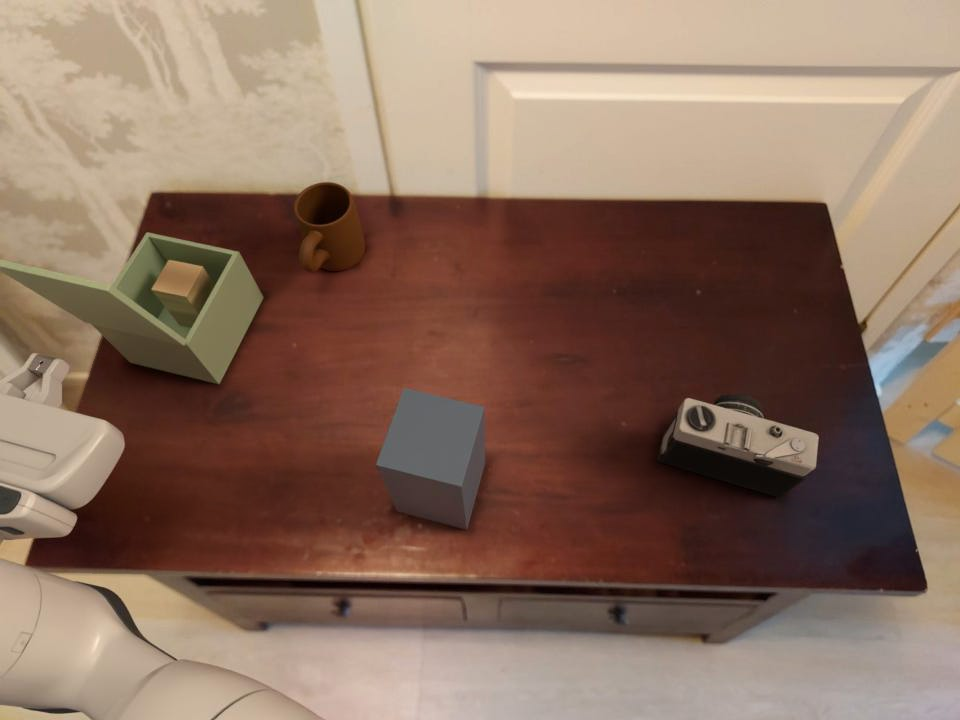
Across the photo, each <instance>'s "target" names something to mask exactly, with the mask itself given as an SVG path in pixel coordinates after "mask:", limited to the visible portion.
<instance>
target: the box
mask: <svg viewBox="0 0 960 720" xmlns="http://www.w3.org/2000/svg"><path fill="white" fill-rule="evenodd" d="M168 260H173V261H178V262H183V263H188V264H193V265H198V266H203V267H204V269H205V271H206V272H207V274H208V275H209V277H210V278H211V280H212V282H213V283H214V285H215V287H214V289H213V290H212V292H211V294H210V296H209V298H208V299H207V301H206V303H205V305H204V306H203V308H202V310H201V312H200V314H199V315H198V317H197V319H196V321H195V323H194V324H193V326H192V328H189V327H185V326H180V325H179V324H178V323H177V321H176V320H175V319H174V318H173V316H172V315H171V314H170V313H169V311H168V310H167V309H166V308H165V306H164V305H163V304H162V302H161V301H160V300H159V299H158V297H157V296H156V295H155V294H154V292H153V291H152V290H151V289H152V287H153V285H154V284H155V282H156V280H157V279H158V277H159V275H160V274H161V272H162V270H163V269H164V267H165V265H166V263H167V262H168ZM111 285H112V286H113V287H114V288H116V289H117V290H119V291H120V292H121V293H123V294H124V295H125V296H127V297H128V298H129V299H131V300H132V301H134V302H135V303H136V304H138V305H139V306H140V307H142V308H143V309H144V310H146V311H147V312H149V313H150V314H151V315H153V316H154V317H155V318H157V319H158V320H159V321H161V322H162V323H164V324H165V325H166V326H168V327H169V328H170V329H172V330H173V331H174V332H176V333H177V334H179V335H180V336H181V337H183V338H184V339H185V340H186V343H185V345H184V346H182V345H178V344H174V343H169V342H165V341H161V340H157V339H153V338H148V337H144V336H140V335H136V334H132V333H127V332H123V331H119V330H115V329H111V328H106V327H102V326H98V325H94V324H90V325H91V326H92V327H93V328H94V329H95V330H96V331H98V333H99V334H100V335H101V336H102V337H103V338H104V339H105V340H106V341H107V342H108V343H110V344H111V345H112V346H113V347H114V348H115V350H117V352H119V353H120V355H122V356H123V358H125V360H126V361H128V362H129V363H130V364H134V365H138V366H142V367H146V368H150V369H154V370H159V371H162V372H167V373H171V374H175V375H179V376H183V377H187V378H191V379H195V380H200V381H203V382H207V383H212V384H216V385H220V384H221V382H222V381H223V378H224V376H225V374H226V372H227V371H228V368H229V367H230V364H231V362H232V361H233V359H234V357H235V355H236V353H237V351H238V349H239V347H240V345H241V343H242V340H243V339H244V337H245V335H246V333H247V331H248V329H249V327H250V325H251V323H252V321H253V319H254V317H255V316H256V314H257V312H258V309H259V308H260V305H261V303H262V302H263V300H264V295H263V293H262V292H261V290H260V288H259V286H258V284H257V282H256V280H255V279H254V277H253V275H252V273H251V271H250V269H249V268H248V266H247V264H246V262H245V260H244V258H243V256H242V255H241V253H240V251H237V250H232V249H227V248H223V247H218V246H214V245H208V244H204V243H199V242H196V241H190V240H185V239H180V238H176V237H172V236H166V235H162V234H158V233H153V232H146V233H144V236H143V237H142V239H141V240H140V242H139V243H138V245H137V246H136V248H135V249H134V251H133V252H132V254H131V256H130V257H129V259H128V260H127V261H126V263H125V264H124V267H123V268H122V269H121V271H120V273H119V274H118V276H117V277H116V279H115V280H114V282H113V283H112V284H111Z"/></svg>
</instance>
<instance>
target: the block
mask: <svg viewBox="0 0 960 720" xmlns="http://www.w3.org/2000/svg"><path fill="white" fill-rule="evenodd" d="M214 287H215V285H214V283H213V282H212V280H211V278H210V277H209V275H208V274H207V272H206V271H205V269H204V267H203V266H198V265H193V264H188V263H183V262H178V261H173V260H168V262H167V263H166V265H165V267H164V269H163V270H162V272H161V274H160V275H159V277H158V279H157V280H156V282H155V284H154V285H153V287H152V289H151V290H152V291H153V292H154V294H155V295H156V296H157V297H158V299H159V300H160V301H161V302H162V304H163V305H164V306H165V308H166V309H167V310H168V311H169V313H170V314H171V315H172V316H173V318H174V319H175V320H176V321H177V323H178V324H179V325H180V326H185V327H189V328H192V326H193V324H194V323H195V321H196V319H197V317H198V315H199V314H200V312H201V310H202V308H203V306H204V305H205V303H206V301H207V299H208V298H209V296H210V294H211V292H212V290H213V289H214Z"/></svg>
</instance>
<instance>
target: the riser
mask: <svg viewBox="0 0 960 720" xmlns="http://www.w3.org/2000/svg"><path fill="white" fill-rule="evenodd" d="M485 413H486V412H485V406H482V405H479V404H475V403H470V402H465V401H462V400H457V399H453V398H449V397H445V396H440V395H436V394H432V393H429V392H428V393H427V392H423V391H419V390H416V389H415V390H414V389H411V388H406V387H403V388H402V391H401V393H400V396H399V399H398V402H397V404H396V406H395V410H394V412H393V416H392V418H391V421H390V424H389V427H388V428H387V429H388V430H387V433H386V435H385V438H384V440H383V444H382V447H381V449H380V451H379V455H378V458H377V459H376V463H375V466H376V468H377V471H378V473H379V476H380V477H381V479H382V482H383V484H384V486H385V489H386V490H387V493H388V494H389V497H390V499H391V501H392V503H393V506H394V508H395V510H396V512H397V513H401V514H404V515H409V516H413V517H417V518H420V519H425V520H427V521H432V522H436V523H439V524H443V525H447V526H451V527H454V528H459V529H462V530H466V531H467V530H468V529H469V524H470V521H471V518H472V513H473V510H474V507H475V503H476V499H477V496H478V491H479V488H480V485H481V480H482V477H483V475H484V470H485V466H486V463H487V462H486V460H487V459H486V458H487V457H486V422H485V421H486V420H485V419H486V417H485V415H486V414H485Z"/></svg>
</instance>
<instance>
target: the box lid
mask: <svg viewBox="0 0 960 720" xmlns="http://www.w3.org/2000/svg"><path fill="white" fill-rule="evenodd" d="M0 272H1V273H3V274H4V275H6V276H7V277H9V278H11V279H12V280H13V281H16V282H17V283H19V284H20V285H23V286H24V287H25V288H27V289H29V290H31V291H33V292H34V293H36V294H37V295H39V296H40V297H42V298H44V299H46V300H47V301H49V302H51V303H52V304H53V305H55V306H57V307H59V308H60V309H62V310H63V311H66V312H67V313H69V314H70V315H72V316H74V318H77V319H79V320H81V321H82V322H84V323H86V324H90V325H91V324H94V325H98V326H102V327H106V328H111V329H115V330H119V331H123V332H127V333H132V334H136V335H140V336H144V337H148V338H153V339H157V340H161V341H165V342H169V343H174V344H178V345H182V346H184V345H185V343H186V340H185V339H184V338H183V337H181V336H180V335H179V334H177V333H176V332H174V331H173V330H172V329H170V328H169V327H168V326H166V325H165V324H164V323H162V322H161V321H159V320H158V319H157V318H155V317H154V316H153V315H151V314H150V313H149V312H147V311H146V310H144V309H143V308H142V307H140V306H139V305H138V304H136V303H135V302H134V301H132V300H131V299H129V298H128V297H127V296H125V295H124V294H123V293H121V292H120V291H119V290H117V289H116V288H114V287H113V286H112V285H113V284H110V283H106V282H101V281H97V280H94V279H93V280H92V279H89V278H85V277H81V276H80V277H79V276H75V275H71V274H67V273H62V272H58V271H53V270H50V269H45V268H40V267H36V266H32V265H27V264H22V263H18V262H14V261H10V260H5V259H1V258H0Z"/></svg>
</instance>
